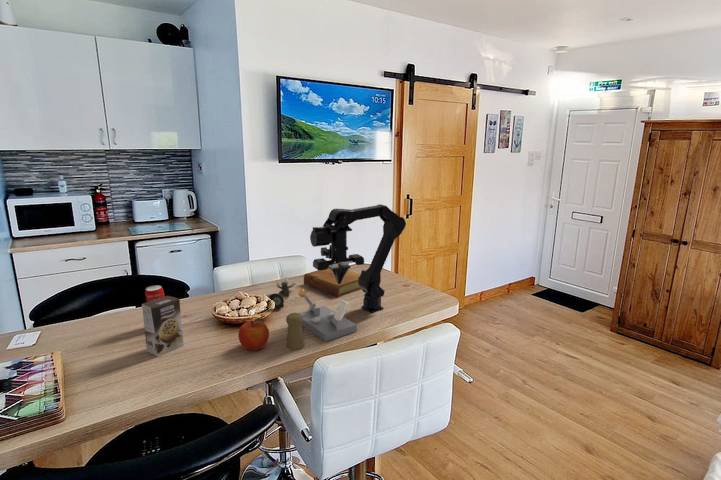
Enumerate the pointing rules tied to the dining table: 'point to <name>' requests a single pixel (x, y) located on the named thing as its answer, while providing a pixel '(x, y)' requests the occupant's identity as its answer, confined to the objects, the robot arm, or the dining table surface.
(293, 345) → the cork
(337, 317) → the cream paddle switch
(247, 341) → the fruit
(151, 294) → the beverage can
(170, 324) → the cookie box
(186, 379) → the dining table surface
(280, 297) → the artificial flower
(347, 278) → the diary
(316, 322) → the switch panel
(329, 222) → the robot arm
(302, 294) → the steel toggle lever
